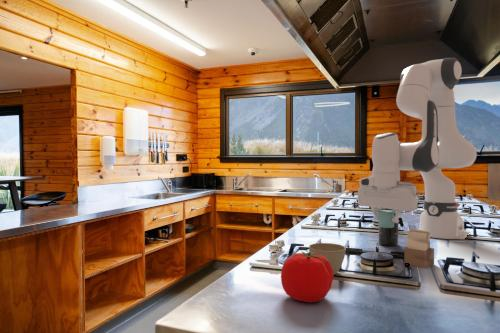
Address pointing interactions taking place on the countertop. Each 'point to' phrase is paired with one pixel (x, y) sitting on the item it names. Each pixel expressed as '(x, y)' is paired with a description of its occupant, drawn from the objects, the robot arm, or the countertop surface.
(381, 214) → the green cube
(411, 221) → the countertop surface
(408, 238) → the tower top
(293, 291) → the tomato
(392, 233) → the supplement bottle
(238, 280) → the countertop surface
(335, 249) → the flower pot
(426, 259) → the tower base
